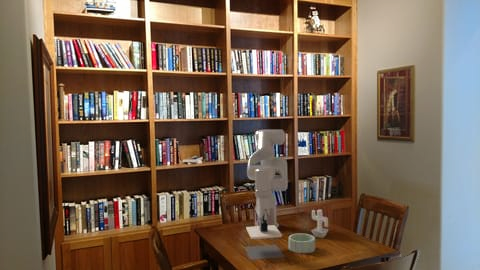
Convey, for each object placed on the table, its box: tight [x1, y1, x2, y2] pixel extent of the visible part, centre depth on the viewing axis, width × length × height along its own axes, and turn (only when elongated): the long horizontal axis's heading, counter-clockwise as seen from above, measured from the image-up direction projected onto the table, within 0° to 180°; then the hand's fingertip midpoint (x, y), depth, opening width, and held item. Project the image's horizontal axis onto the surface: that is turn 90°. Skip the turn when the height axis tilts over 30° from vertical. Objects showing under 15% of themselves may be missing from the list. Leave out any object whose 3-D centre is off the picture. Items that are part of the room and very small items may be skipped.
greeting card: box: [254, 206, 274, 226], centre depth 218 cm, size 11×7×15 cm, turn 37°
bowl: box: [287, 233, 316, 254], centre depth 193 cm, size 13×13×6 cm
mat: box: [244, 244, 285, 261], centre depth 189 cm, size 17×17×1 cm
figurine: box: [310, 208, 329, 239], centre depth 211 cm, size 7×9×15 cm
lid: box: [245, 218, 283, 240], centre depth 189 cm, size 15×15×7 cm
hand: (263, 228), depth 189 cm, fingers closed on lid, 3 cm apart
